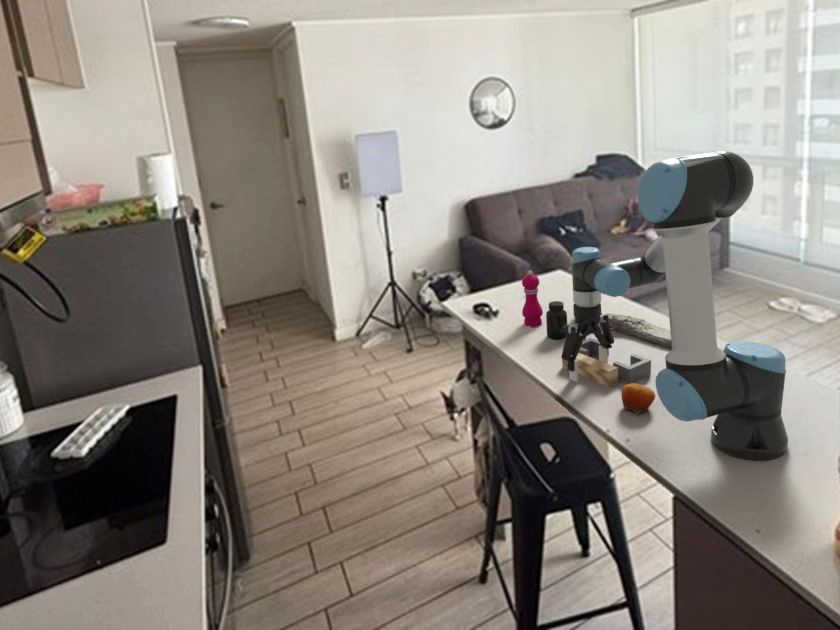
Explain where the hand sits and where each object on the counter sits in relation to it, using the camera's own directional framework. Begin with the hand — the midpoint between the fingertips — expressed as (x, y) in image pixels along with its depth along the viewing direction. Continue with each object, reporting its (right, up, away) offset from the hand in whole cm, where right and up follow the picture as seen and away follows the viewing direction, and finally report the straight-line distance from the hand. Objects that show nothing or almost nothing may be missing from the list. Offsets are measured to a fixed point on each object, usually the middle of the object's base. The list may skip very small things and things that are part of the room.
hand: (588, 373), depth 176 cm
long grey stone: (+24, +10, +23) cm, 35 cm away
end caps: (+7, +2, +3) cm, 8 cm away
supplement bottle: (-3, +10, +29) cm, 31 cm away
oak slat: (0, -1, 0) cm, 1 cm away
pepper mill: (-8, +14, +42) cm, 45 cm away
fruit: (+7, -7, -21) cm, 23 cm away
